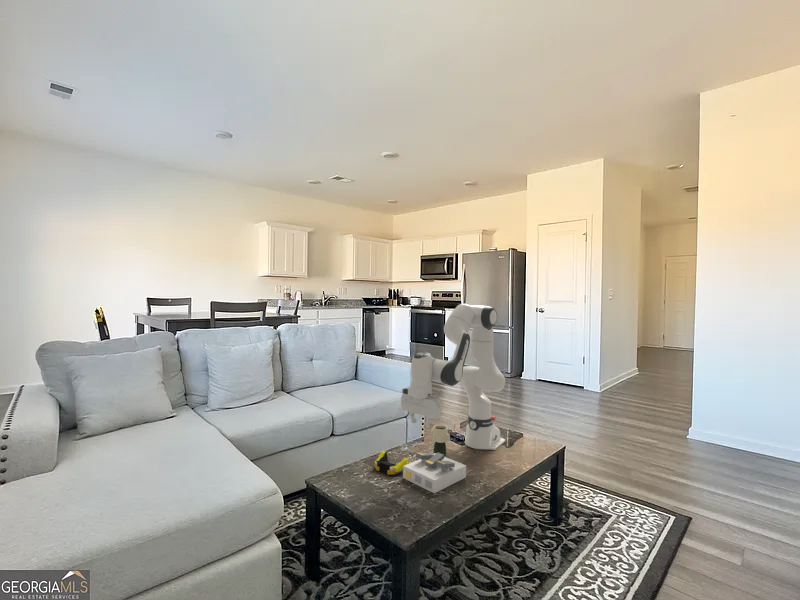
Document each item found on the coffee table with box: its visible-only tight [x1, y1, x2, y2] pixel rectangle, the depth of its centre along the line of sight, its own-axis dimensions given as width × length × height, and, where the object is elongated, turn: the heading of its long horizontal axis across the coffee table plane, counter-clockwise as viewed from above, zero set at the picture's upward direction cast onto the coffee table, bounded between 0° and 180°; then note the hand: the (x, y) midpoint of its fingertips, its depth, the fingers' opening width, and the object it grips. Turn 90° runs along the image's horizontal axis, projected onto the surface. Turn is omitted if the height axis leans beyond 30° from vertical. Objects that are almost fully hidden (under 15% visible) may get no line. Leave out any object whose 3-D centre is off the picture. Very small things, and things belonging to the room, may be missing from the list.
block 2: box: [436, 461, 455, 468], centre depth 160 cm, size 8×3×2 cm, turn 134°
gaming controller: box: [374, 450, 410, 476], centre depth 171 cm, size 15×6×10 cm
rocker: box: [425, 453, 445, 468], centre depth 164 cm, size 8×3×2 cm, turn 134°
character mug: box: [430, 424, 451, 456], centre depth 188 cm, size 11×7×13 cm, turn 47°
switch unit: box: [402, 453, 467, 494], centre depth 164 cm, size 20×17×6 cm
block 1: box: [415, 452, 434, 460], centre depth 168 cm, size 8×3×2 cm, turn 134°
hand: (420, 424), depth 165 cm, fingers open, 6 cm apart
